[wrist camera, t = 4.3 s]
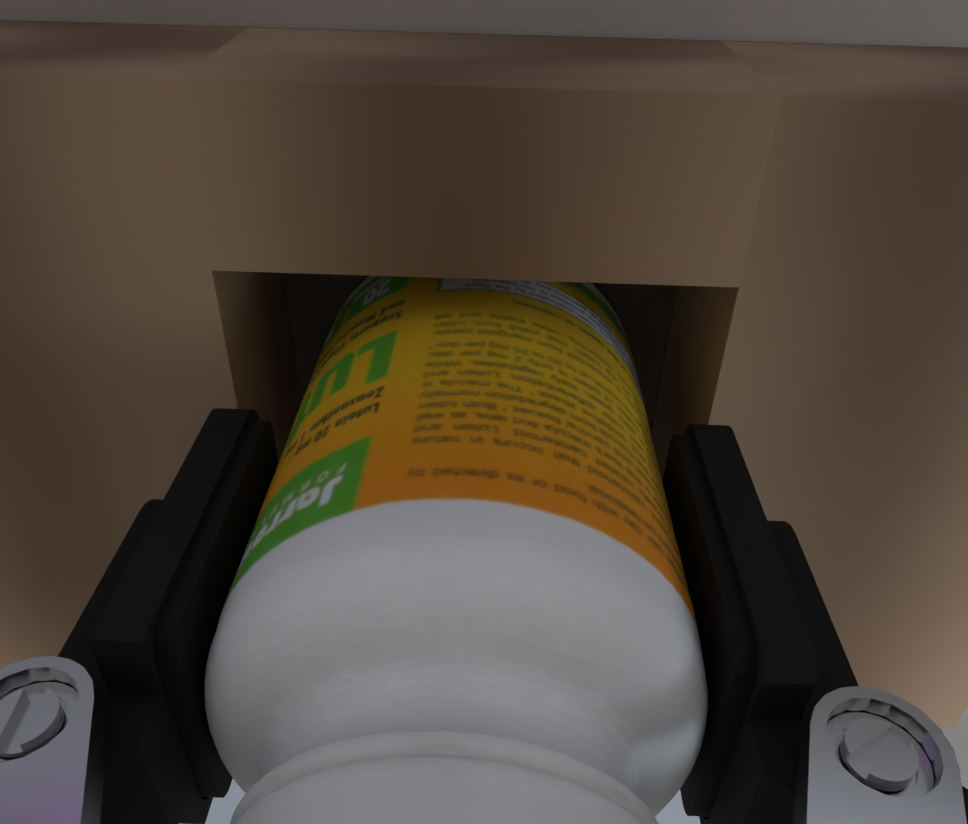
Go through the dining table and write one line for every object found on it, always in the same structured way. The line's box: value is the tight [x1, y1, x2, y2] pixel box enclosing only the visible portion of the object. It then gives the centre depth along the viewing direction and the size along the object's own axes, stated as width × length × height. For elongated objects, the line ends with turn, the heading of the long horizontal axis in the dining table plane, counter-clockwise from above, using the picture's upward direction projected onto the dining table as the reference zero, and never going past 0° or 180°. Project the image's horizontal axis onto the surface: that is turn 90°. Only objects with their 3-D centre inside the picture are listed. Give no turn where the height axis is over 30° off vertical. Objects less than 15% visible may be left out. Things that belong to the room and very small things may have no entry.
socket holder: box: [0, 20, 968, 727], centre depth 13 cm, size 18×11×3 cm, turn 89°
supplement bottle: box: [204, 276, 708, 824], centre depth 10 cm, size 5×5×10 cm
